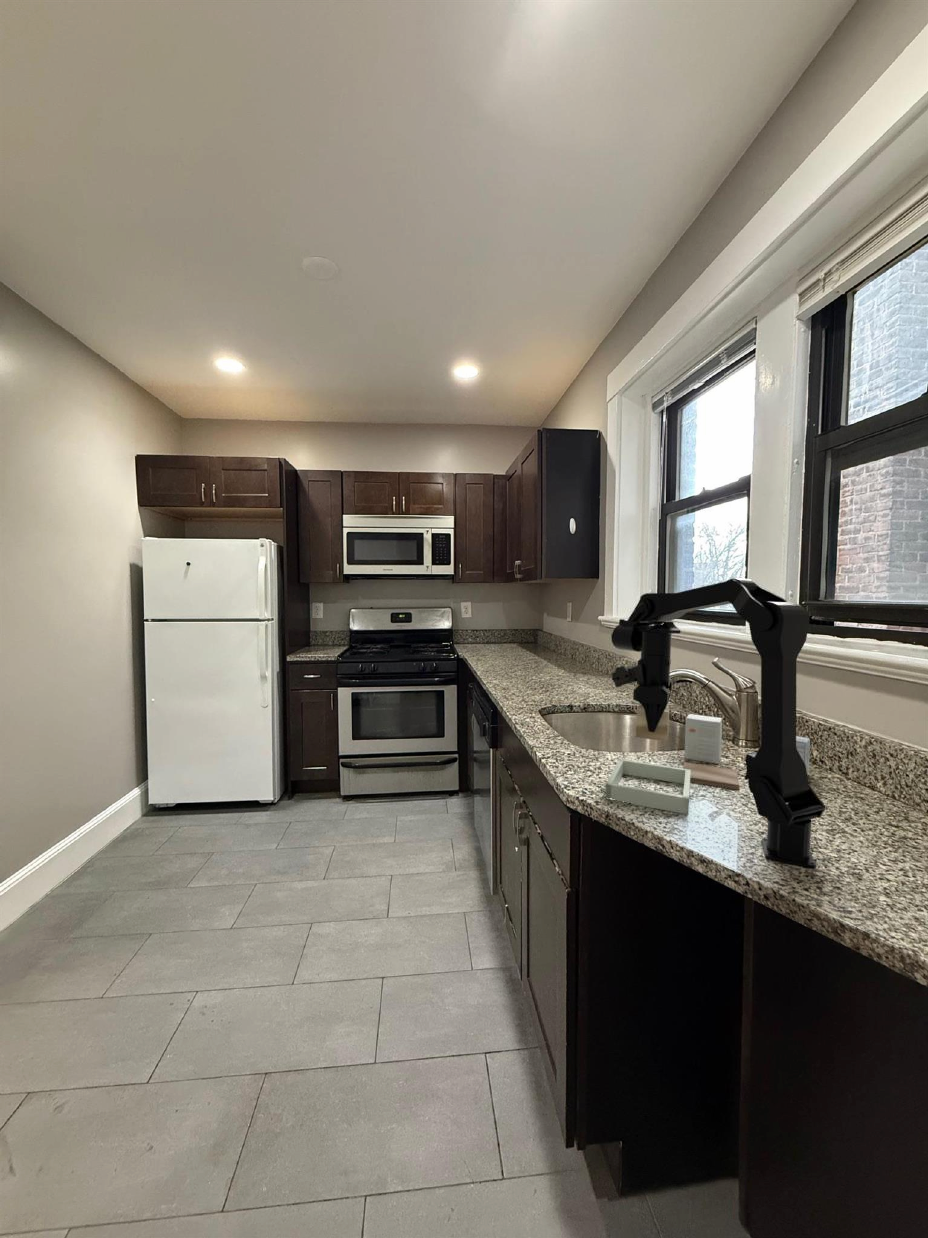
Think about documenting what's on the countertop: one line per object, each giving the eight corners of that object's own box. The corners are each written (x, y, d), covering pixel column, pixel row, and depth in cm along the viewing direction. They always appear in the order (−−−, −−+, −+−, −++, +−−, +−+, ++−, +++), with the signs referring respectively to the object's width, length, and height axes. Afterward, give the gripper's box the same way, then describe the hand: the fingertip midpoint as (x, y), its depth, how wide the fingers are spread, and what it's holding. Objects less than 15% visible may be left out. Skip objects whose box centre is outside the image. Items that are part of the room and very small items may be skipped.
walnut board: (739, 789, 107) (739, 785, 107) (682, 780, 111) (683, 776, 111) (736, 774, 117) (736, 769, 117) (684, 766, 121) (684, 762, 121)
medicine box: (809, 775, 117) (811, 738, 117) (805, 780, 114) (807, 742, 114) (770, 766, 123) (772, 731, 122) (765, 771, 119) (767, 735, 119)
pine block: (667, 741, 101) (668, 711, 101) (635, 737, 104) (636, 708, 103) (668, 736, 105) (669, 707, 105) (638, 732, 108) (639, 704, 108)
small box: (721, 758, 128) (723, 717, 127) (718, 764, 123) (720, 722, 123) (687, 753, 132) (688, 713, 132) (683, 758, 127) (685, 717, 127)
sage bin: (688, 814, 94) (688, 798, 93) (605, 799, 100) (606, 784, 100) (690, 783, 110) (690, 769, 110) (618, 771, 116) (619, 759, 116)
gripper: (621, 648, 116) (619, 715, 116) (607, 655, 99) (605, 734, 99) (673, 651, 111) (671, 721, 111) (669, 660, 94) (665, 742, 95)
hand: (652, 729), depth 104 cm, fingers closed on pine block, 4 cm apart
